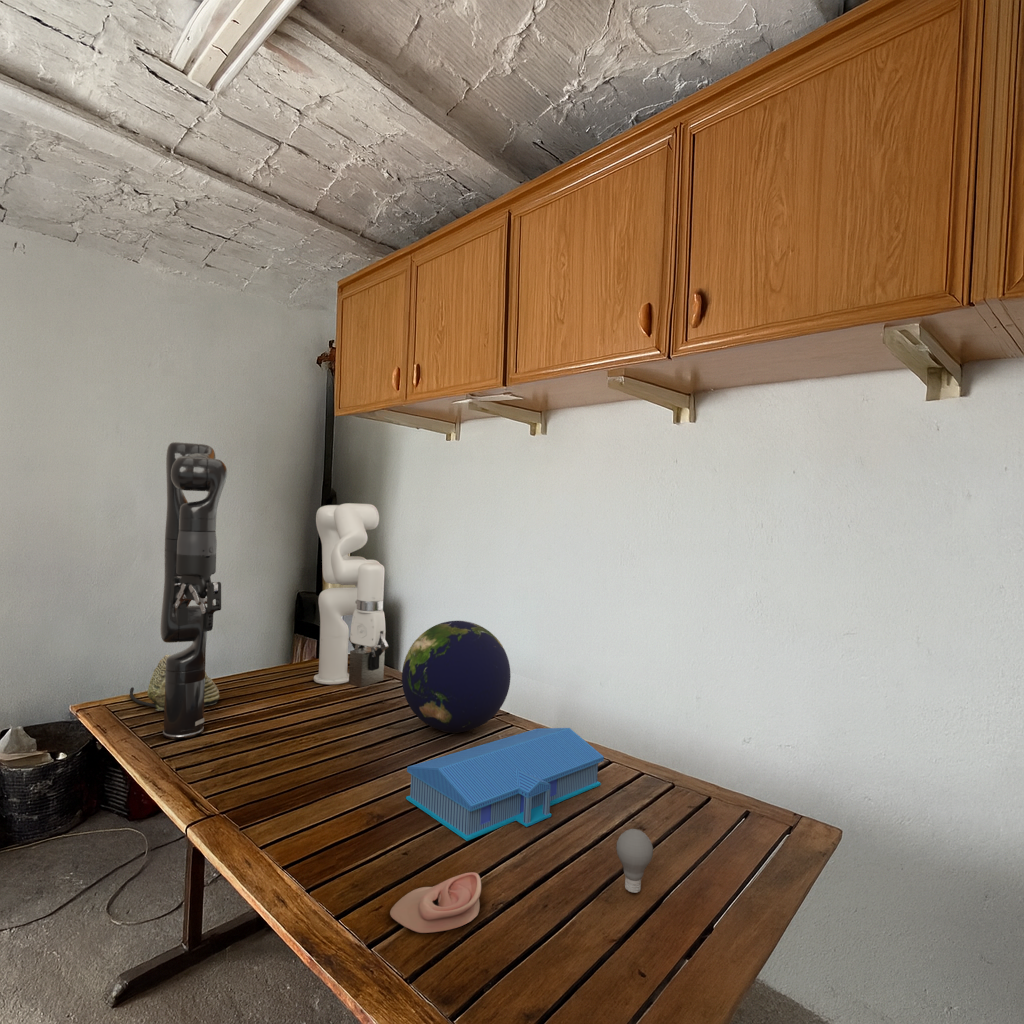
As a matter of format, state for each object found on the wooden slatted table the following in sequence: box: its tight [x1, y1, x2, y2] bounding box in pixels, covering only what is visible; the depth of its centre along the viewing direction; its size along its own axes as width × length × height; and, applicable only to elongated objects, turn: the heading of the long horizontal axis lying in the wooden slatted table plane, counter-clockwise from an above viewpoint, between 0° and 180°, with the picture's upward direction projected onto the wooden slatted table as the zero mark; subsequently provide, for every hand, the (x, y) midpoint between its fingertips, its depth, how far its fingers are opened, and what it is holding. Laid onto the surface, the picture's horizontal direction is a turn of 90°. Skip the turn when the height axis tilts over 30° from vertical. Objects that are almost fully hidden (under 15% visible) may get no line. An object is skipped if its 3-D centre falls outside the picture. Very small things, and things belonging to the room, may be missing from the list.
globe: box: [401, 620, 512, 734], centre depth 175 cm, size 30×30×30 cm
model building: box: [405, 727, 605, 842], centre depth 138 cm, size 39×24×10 cm, turn 132°
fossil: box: [147, 654, 221, 712], centre depth 185 cm, size 9×18×15 cm, turn 132°
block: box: [348, 646, 386, 688], centre depth 185 cm, size 5×9×10 cm, turn 149°
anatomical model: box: [389, 871, 482, 934], centre depth 98 cm, size 13×4×12 cm
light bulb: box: [615, 828, 654, 894], centre depth 106 cm, size 6×6×10 cm
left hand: (194, 628), depth 135 cm, fingers open, 8 cm apart
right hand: (367, 667), depth 185 cm, fingers closed on block, 5 cm apart
